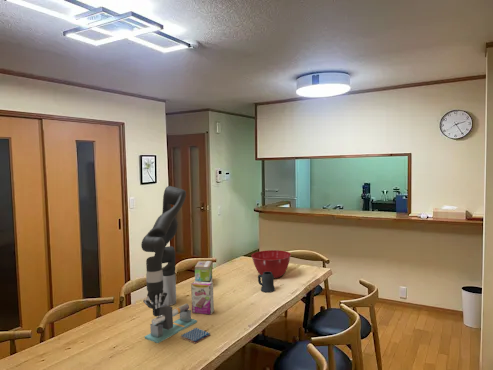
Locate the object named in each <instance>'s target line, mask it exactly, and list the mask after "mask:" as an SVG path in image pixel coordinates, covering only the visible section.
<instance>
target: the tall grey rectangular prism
mask: <svg viewBox="0 0 493 370" xmlns="http://www.w3.org/2000/svg"><path fill="white" fill-rule="evenodd" d="M159 309H160V313H159V316H160V315H165V321H163V322H161V323H160V324H163V328H164V329H167V330H169V329H171V328H173V322H174V319H173V318H174V316H173V314H172V310H173V307H172V306H171V305H169V306H167V305H161V306H160V308H159Z"/></svg>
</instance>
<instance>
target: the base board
mask: <svg viewBox="0 0 493 370" xmlns="http://www.w3.org/2000/svg"><path fill="white" fill-rule="evenodd" d="M197 322H198V320H197V319H195V318H191V321H190V322H188V323H186V322H182V321H180V318H178V319H176V320H173V328H171V329H169V330H167V329H164V328H163V336H162V337H160V338H156V337H153V336H151V332H150V333H148V334H146V335H145V336H144V340H148V341H151V342H153V343H155V344H160V343H161V342H163V341H165V340H167V339H168V338H170V337H172V336H174V335H176V334H178V333H179V332H182V331H183V330H186V329H187V328H189V327H190V326H193V325H194V324H196V323H197Z"/></svg>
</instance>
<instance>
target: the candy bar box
mask: <svg viewBox="0 0 493 370" xmlns="http://www.w3.org/2000/svg"><path fill="white" fill-rule="evenodd" d="M190 287H191V288H190V289H191V290H190V291H191V314H201V315H212V314H213V313H214V312H215V308H214V306H215V304H214V302H215V300H214V282H213V281H212V282H199V281H195V280H194V281H193V282H192V283H191V286H190Z"/></svg>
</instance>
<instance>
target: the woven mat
mask: <svg viewBox="0 0 493 370" xmlns="http://www.w3.org/2000/svg"><path fill="white" fill-rule="evenodd" d="M210 336H211V332H209V331H207V330H206V331H205V330H204V329H201V328H198V327H194V328H193V329H191V330H189V331H187V332H184V333H183V334H181V336H180V338H181V339H182V340H184V341H188V342H189V343H192V344H194V345H195V344H197V343H199V342H201V341H203V340H205V339H206V338H208V337H210Z"/></svg>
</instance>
